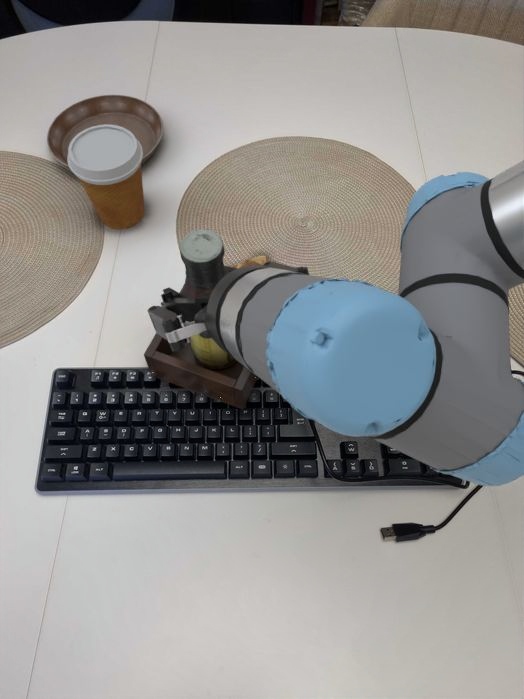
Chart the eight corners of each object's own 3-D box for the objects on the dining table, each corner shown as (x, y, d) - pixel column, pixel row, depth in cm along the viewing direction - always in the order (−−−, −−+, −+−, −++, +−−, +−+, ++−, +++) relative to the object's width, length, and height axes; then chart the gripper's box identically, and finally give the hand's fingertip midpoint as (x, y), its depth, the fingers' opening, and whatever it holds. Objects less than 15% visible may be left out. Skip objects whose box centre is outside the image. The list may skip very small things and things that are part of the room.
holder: (279, 330, 69) (281, 305, 64) (243, 411, 63) (242, 390, 58) (193, 301, 71) (189, 275, 66) (151, 377, 65) (143, 354, 61)
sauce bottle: (229, 321, 69) (222, 207, 52) (252, 359, 66) (253, 252, 49) (182, 342, 67) (159, 231, 50) (203, 382, 64) (187, 279, 47)
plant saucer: (43, 187, 81) (36, 171, 78) (61, 111, 90) (55, 94, 87) (162, 185, 81) (159, 169, 79) (168, 109, 90) (166, 93, 88)
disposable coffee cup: (169, 215, 78) (156, 147, 68) (116, 250, 75) (93, 185, 65) (129, 181, 82) (110, 112, 71) (76, 214, 78) (49, 145, 68)
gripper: (163, 417, 38) (130, 351, 60) (389, 318, 43) (283, 290, 64) (122, 320, 36) (103, 287, 58) (366, 227, 41) (264, 228, 62)
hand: (198, 289), depth 61 cm, fingers closed on sauce bottle, 6 cm apart
